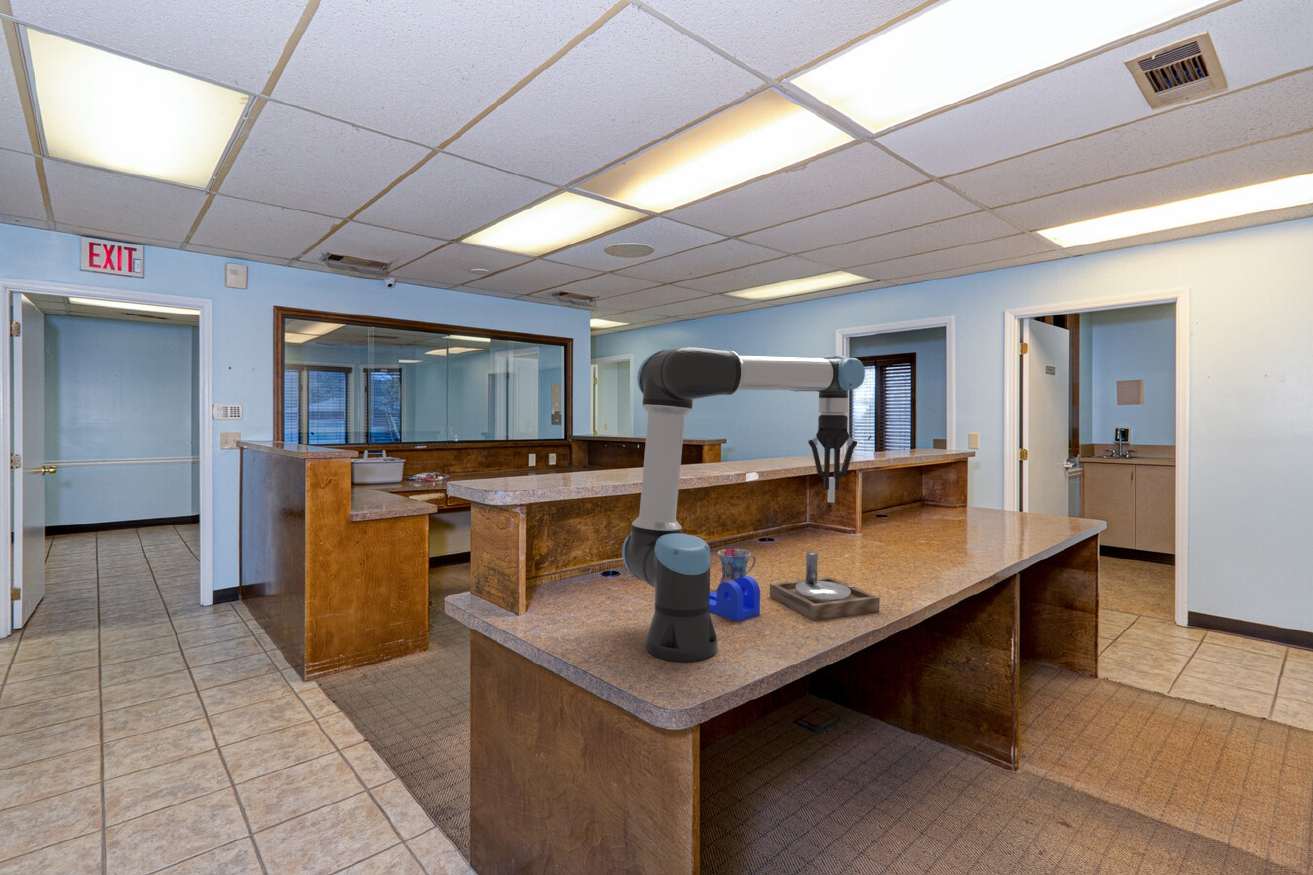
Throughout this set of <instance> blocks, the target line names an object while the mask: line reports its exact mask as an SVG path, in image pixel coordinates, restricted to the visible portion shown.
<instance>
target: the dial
mask: <svg viewBox="0 0 1313 875" xmlns="http://www.w3.org/2000/svg"><path fill="white" fill-rule="evenodd" d="M805 558H806V559H805V561H806V562H805V580H806V581H805V582H800V583H798V584H797V585H796V594H797V595H799V596H801V597H803V598H805V599H807V600H809V601H811V602H813V603H824V602H832V601H840V600H848V599H850V598H851V590H850V589H849V588H848V587H846V586H844V585H841V584H838V583H833V582H827V581H817V579H818V564H819V562H818V560H819V559H818V558H819V554H818V552H814V551H808V552H806V554H805Z"/></svg>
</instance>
